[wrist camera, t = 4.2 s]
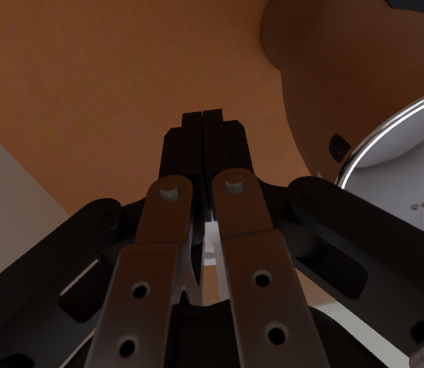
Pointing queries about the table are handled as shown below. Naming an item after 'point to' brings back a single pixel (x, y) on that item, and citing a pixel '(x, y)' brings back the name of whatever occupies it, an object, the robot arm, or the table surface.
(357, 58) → the beer glass
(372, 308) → the robot arm
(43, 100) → the table surface
